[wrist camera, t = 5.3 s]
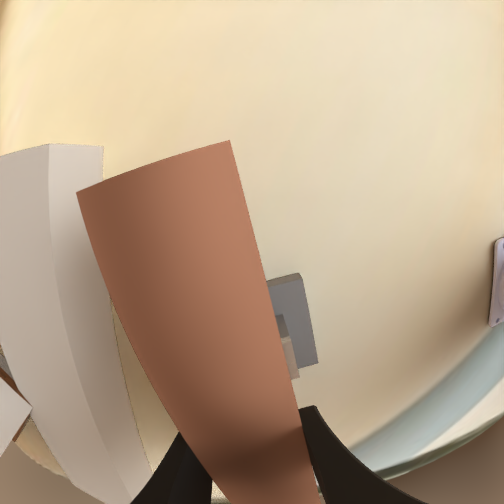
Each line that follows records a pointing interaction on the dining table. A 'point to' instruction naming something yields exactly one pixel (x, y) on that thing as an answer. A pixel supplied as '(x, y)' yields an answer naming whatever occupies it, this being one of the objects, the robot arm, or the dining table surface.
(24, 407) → the white tower model
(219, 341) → the mahogany rod
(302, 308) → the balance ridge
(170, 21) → the dining table surface
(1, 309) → the decorative molding
